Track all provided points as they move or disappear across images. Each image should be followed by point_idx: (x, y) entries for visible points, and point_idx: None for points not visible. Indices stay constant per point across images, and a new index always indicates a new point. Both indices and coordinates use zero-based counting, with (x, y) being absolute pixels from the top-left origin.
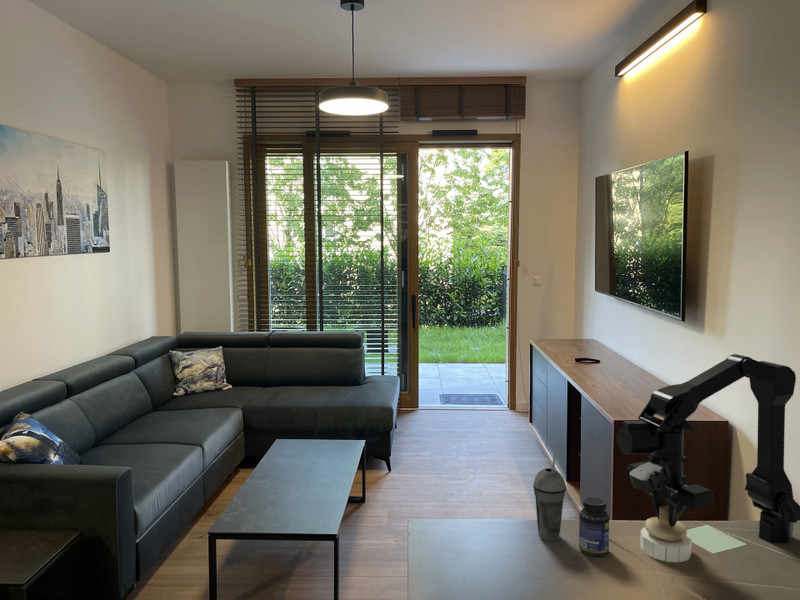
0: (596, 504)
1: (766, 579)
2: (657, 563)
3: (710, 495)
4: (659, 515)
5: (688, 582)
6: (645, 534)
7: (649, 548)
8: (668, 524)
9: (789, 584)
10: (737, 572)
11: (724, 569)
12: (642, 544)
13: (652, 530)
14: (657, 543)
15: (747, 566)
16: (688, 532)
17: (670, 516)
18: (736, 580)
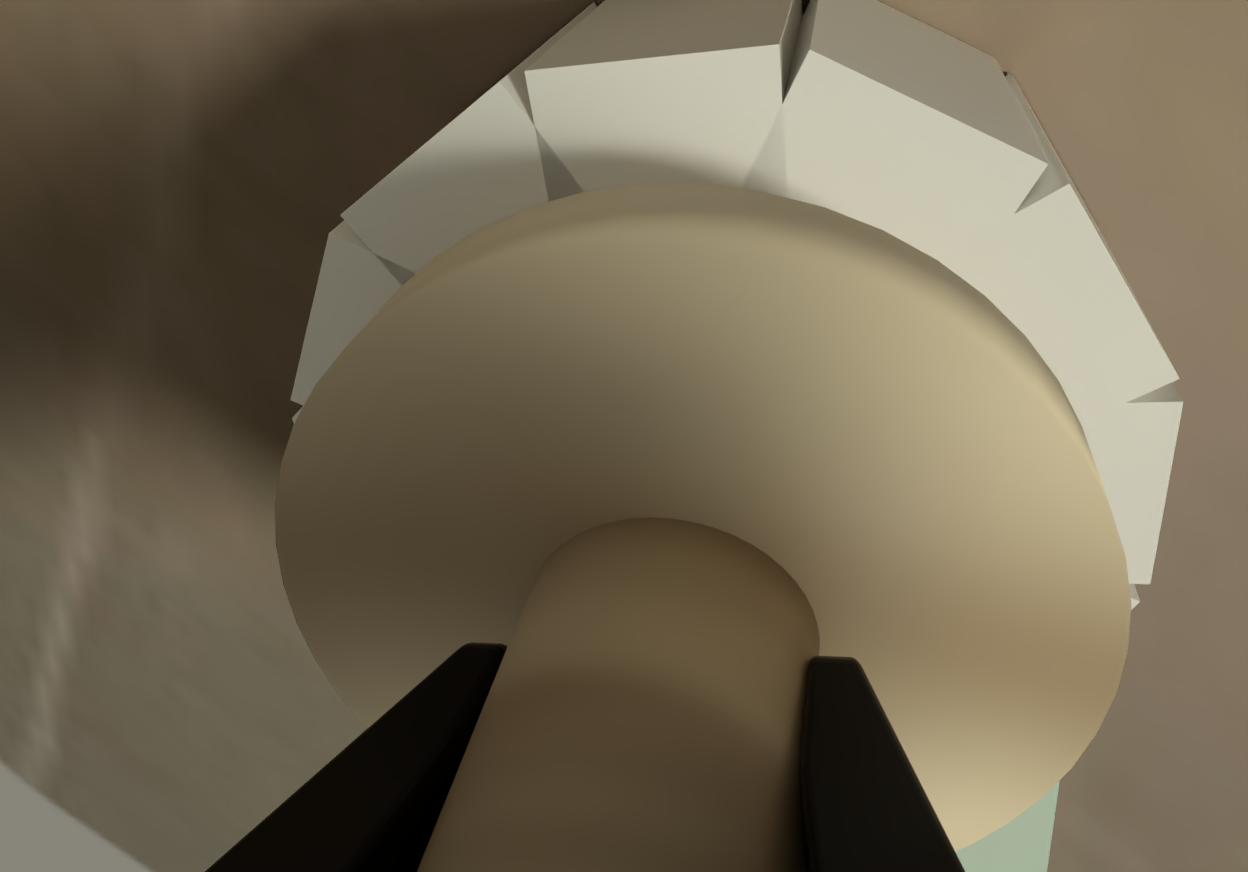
0: None
1: (136, 748)
2: (528, 29)
3: None
4: (680, 720)
5: (35, 92)
6: (887, 180)
7: (638, 24)
8: (510, 647)
9: (76, 804)
10: (242, 667)
11: None
12: (868, 31)
13: (578, 230)
14: (452, 137)
15: None
16: (987, 867)
17: (313, 823)
18: (110, 566)
